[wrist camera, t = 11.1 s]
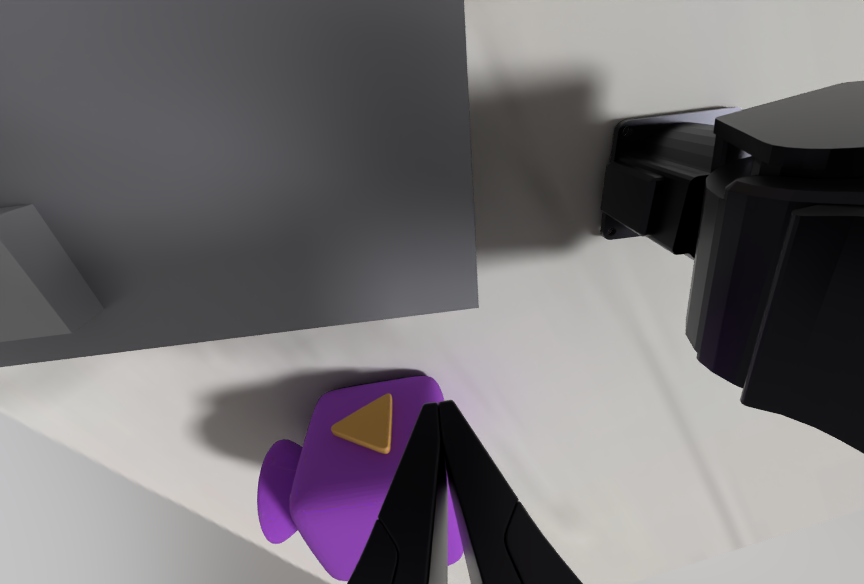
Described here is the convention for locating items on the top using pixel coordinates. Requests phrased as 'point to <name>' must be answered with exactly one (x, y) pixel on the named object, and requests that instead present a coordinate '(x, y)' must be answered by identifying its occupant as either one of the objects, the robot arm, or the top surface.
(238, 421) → the top surface
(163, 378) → the top surface
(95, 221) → the block
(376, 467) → the toy camera
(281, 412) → the top surface
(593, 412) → the top surface
